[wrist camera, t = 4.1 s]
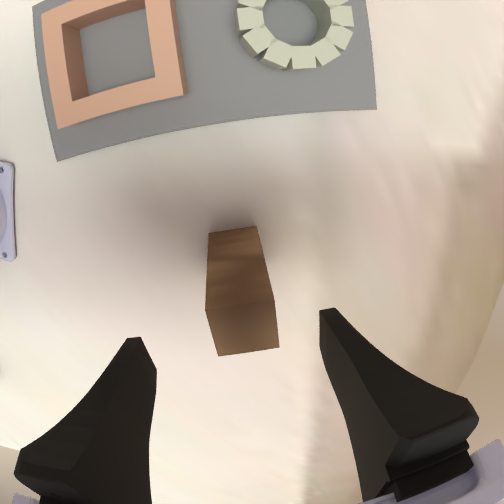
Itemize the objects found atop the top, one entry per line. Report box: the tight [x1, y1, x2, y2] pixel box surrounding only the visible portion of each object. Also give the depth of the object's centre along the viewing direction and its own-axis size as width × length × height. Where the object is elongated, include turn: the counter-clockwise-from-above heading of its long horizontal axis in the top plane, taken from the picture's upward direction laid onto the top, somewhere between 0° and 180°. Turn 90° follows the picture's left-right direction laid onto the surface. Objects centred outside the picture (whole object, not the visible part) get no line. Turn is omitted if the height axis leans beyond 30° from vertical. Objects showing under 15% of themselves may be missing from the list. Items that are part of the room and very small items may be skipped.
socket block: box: [32, 0, 377, 162], centre depth 14 cm, size 20×11×4 cm, turn 97°
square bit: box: [205, 226, 279, 356], centre depth 19 cm, size 3×3×8 cm
